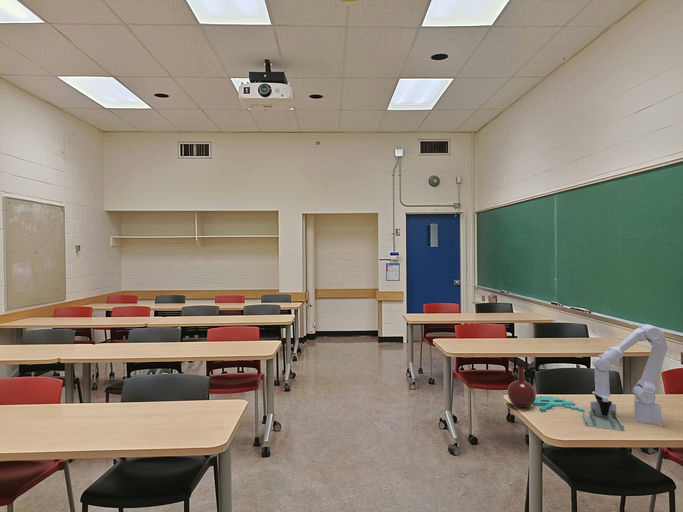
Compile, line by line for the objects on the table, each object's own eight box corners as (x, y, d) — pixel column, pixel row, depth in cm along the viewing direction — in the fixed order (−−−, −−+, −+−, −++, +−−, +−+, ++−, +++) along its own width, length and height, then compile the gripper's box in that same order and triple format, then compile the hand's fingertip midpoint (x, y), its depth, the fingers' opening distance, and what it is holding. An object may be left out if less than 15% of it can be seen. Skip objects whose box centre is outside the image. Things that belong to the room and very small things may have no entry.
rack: (618, 422, 178) (617, 413, 178) (624, 433, 166) (624, 423, 166) (582, 417, 184) (581, 409, 184) (586, 427, 172) (585, 418, 172)
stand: (616, 417, 184) (615, 408, 184) (618, 421, 179) (618, 413, 179) (588, 413, 189) (588, 405, 189) (590, 418, 183) (590, 409, 183)
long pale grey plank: (615, 416, 182) (615, 403, 182) (616, 417, 181) (615, 404, 181) (590, 413, 186) (590, 401, 187) (591, 414, 185) (590, 401, 185)
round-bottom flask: (515, 411, 192) (514, 370, 193) (503, 402, 205) (502, 364, 206) (541, 411, 193) (540, 370, 194) (527, 402, 206) (526, 364, 207)
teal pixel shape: (584, 414, 189) (565, 400, 209) (584, 409, 189) (565, 396, 209) (541, 413, 191) (526, 399, 211) (541, 408, 191) (526, 395, 211)
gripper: (589, 378, 192) (590, 406, 192) (594, 386, 179) (595, 416, 179) (606, 380, 189) (608, 408, 189) (612, 388, 176) (614, 419, 176)
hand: (603, 412), depth 184 cm, fingers open, 7 cm apart
